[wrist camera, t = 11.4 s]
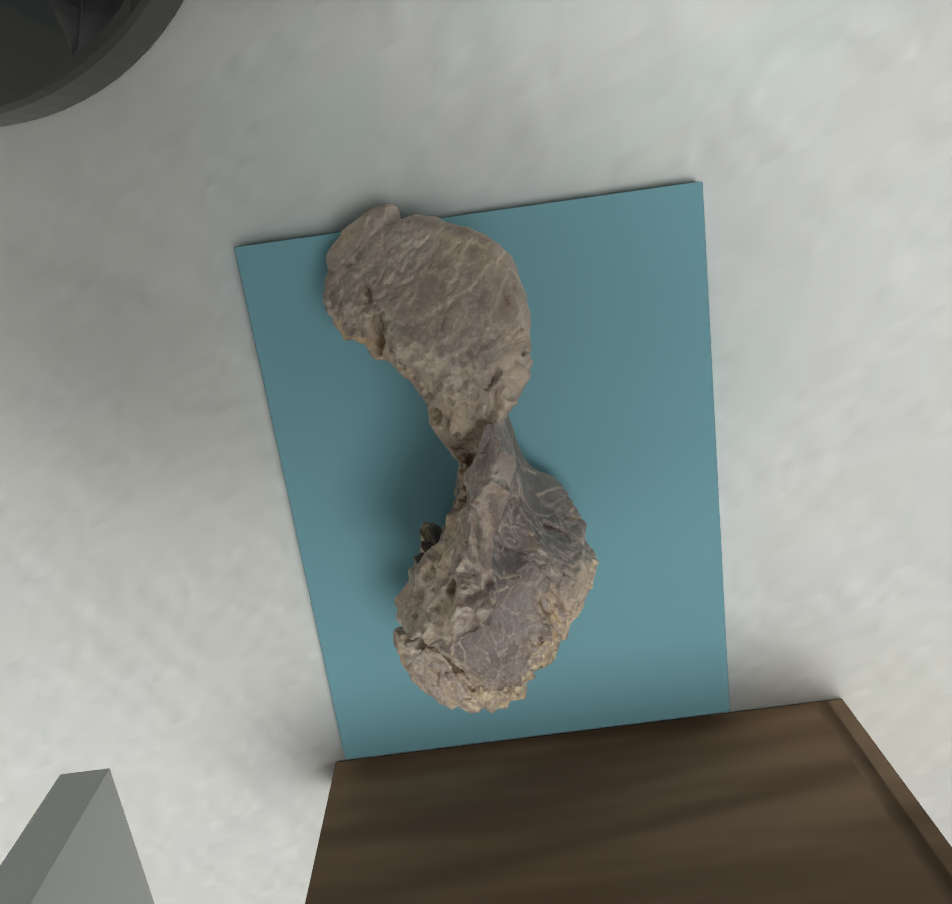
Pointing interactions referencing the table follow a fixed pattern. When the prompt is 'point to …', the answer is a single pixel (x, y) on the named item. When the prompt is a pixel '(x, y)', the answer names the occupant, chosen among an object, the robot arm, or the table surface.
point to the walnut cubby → (637, 819)
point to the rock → (466, 456)
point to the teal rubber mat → (543, 446)
